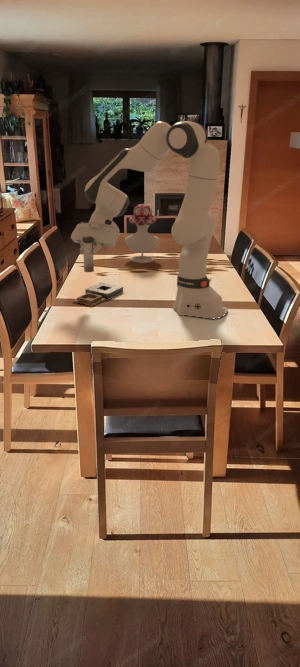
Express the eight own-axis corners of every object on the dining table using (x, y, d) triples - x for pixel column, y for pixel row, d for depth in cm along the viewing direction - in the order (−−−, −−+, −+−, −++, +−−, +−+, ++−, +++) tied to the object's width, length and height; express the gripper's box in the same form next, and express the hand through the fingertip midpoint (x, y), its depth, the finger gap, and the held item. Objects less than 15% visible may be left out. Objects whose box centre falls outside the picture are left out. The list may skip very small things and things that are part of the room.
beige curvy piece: (160, 255, 289) (162, 201, 277) (158, 263, 272) (159, 207, 260) (128, 254, 290) (128, 200, 278) (123, 262, 274) (123, 205, 262)
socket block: (123, 292, 226) (123, 286, 225) (107, 299, 217) (107, 294, 216) (101, 287, 232) (101, 282, 231) (85, 294, 223) (85, 289, 222)
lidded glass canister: (96, 270, 210) (95, 237, 205) (89, 273, 207) (88, 239, 201) (88, 268, 212) (86, 235, 207) (81, 271, 209) (80, 237, 203)
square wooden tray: (106, 300, 216) (106, 295, 215) (92, 306, 208) (91, 302, 208) (87, 295, 221) (87, 291, 220) (73, 302, 213) (72, 297, 212)
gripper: (75, 217, 211) (63, 245, 207) (117, 222, 203) (105, 251, 199) (81, 226, 217) (69, 253, 213) (123, 231, 209) (111, 259, 204)
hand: (87, 252), depth 206 cm, fingers closed on lidded glass canister, 4 cm apart
